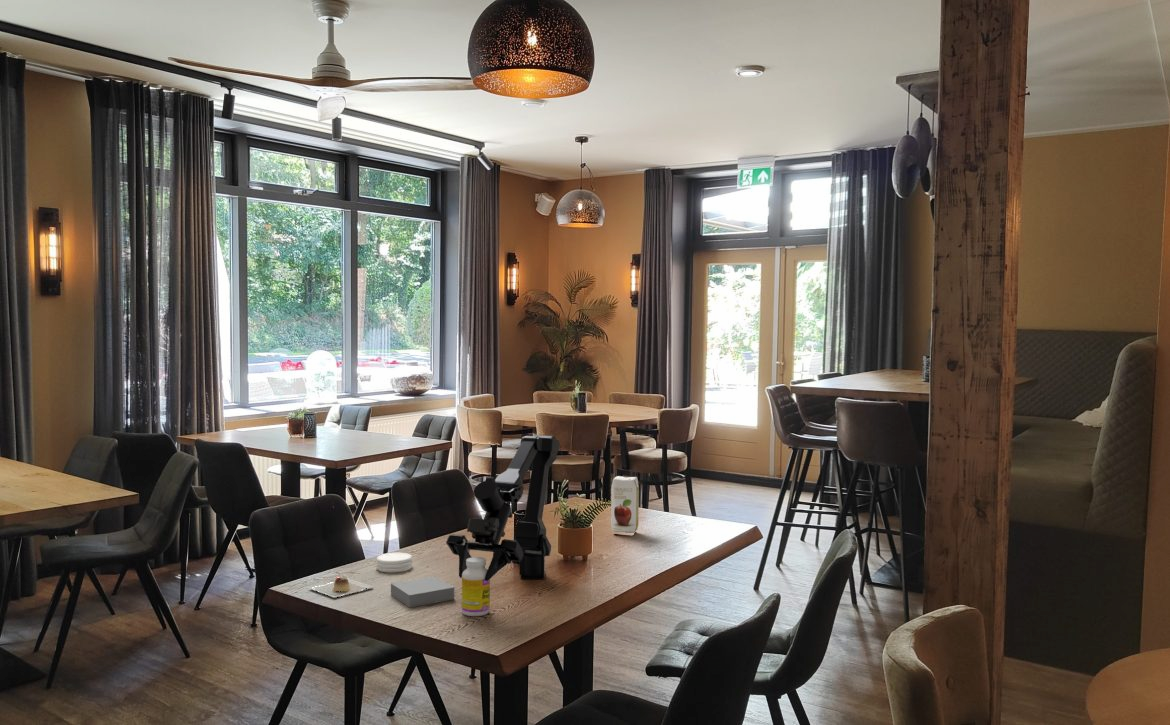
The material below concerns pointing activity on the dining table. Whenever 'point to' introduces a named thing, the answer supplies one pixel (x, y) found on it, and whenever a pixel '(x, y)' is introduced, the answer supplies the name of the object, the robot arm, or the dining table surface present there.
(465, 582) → the supplement bottle
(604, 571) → the dining table surface
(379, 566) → the coaster
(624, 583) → the dining table surface
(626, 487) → the juice carton
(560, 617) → the dining table surface
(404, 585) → the block
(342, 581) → the dessert
